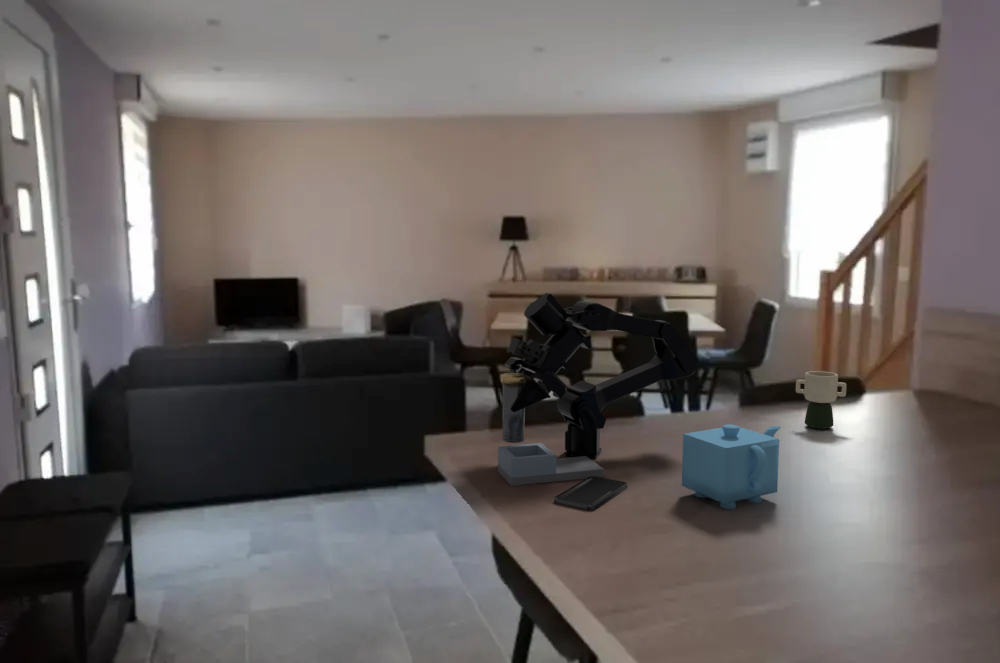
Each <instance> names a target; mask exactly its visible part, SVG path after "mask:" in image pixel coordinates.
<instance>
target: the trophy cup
mask: <svg viewBox="0 0 1000 663" xmlns="http://www.w3.org/2000/svg"><path fill="white" fill-rule="evenodd" d="M801 384H803V385H804V389H803V388H801ZM838 387H840V388H841V391H840V392H839V391H838ZM795 392H796V393H797V394H803V396H804V399H805V400H806V401H809V403H808V404H807V408H806V412H805V416H804V424H805V425H806V426H807V427H808V426H809V427H811V428H814V429H829V428H833V427H834V416H833V413H834V412H833V406H832V404H831V403H834V402H836V400H837V397H843V398H844V397H846V395H847V383H846V382H843V381H842V382H841V381H840V382H839V375H838V373H835V372H831V371H822V370H813V371H806V372H805V375H804V379H796V381H795Z"/></svg>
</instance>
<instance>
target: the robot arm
mask: <svg viewBox="0 0 1000 663" xmlns="http://www.w3.org/2000/svg"><path fill="white" fill-rule="evenodd" d="M524 310H525V311H524V312H523V315H524V317H525V318H526V319H527V320H528V321H529V322H530V323H531V324H532V325H533V326H534V327H535V329H536V330H537V331H539V333H540V334H541V335H543V336H548V335H549V336H550V337H549V338H548V339H547V341H546V342H545V343H541V342H539V341H537V340H534V339H531V338H530V339H528V340H527V341H524V340H522V339H518V338H516V337H512V339H511V341H510V344H509V346H508V349H507V350H506V353H509V354H511V355H514V357H513V356H511V357H509V358H508V360H506V362H505V363H504V366H505V367H506V368H508V369H509V373H522V374H526V382H525V387H524V389H523V390H522V391H521V393H520V394H519V396H518V397H517V399H516V400H515V401H514V403H513V405H512V406H511V408H510V410H511V411H512V412H516V411H518V410H521V409H523V408H525V409H526V408H528V407H529V406H531V405H534V404H536V403H538V402H541V401H544V400H546V399H550V398H551V395H550V393H551V392H552V396H553V397H555V398H556V399H557V401H556V406H557V410H558V412H559V413H560V414H561V415H562V416H563V419H564V422H566V423H568V425H567V430H566V431H564V450H565V453H564V454H565V457H581V456H587V457H588V458H589V459H597V457H598V456H599V454H601V452H602V450H603V449H602V447H601V444H600V443H601V429H604V428H605V424H606V422H607V418H606V417H605V415H603V413H601V411H603V409H604V408H605V406H607V405H608V404H610V403H612V402H614V401H618V400H619V399H621V398H624V397H626V396H628V395H631V394H634V393H635V392H638V391H640V390H642V389H644V388H647V387H649V386H652V385H654V384H656V383H658V382H660V381H668V380H669V381H671V380H678V379H683V378H688V377H691V376H692V375H694V374H695V373H696V368H697V367H698V358H697V355H696V353H695V352H693V351H692V349H691V348H690V346H689V344H688V343H687V342H686V341H685V340H684V338H682V337H681V336H680V334H679V333H678V331H677V329H676V328H675V326H674V325H673V324H672V323H671V322H669V321H665V320H660V319H655V320H654V319H651V318H650V319H649V318H645V317H639V316H635V315H630V314H625V313H620V312H618V311H616V310H613V309H612V308H610V307H608V306H605V305H603V304H600V303H597V302H593V301H592V302H591V301H586V300H578V301H576V302H575V303H574V304H573V305H572V306H570V307H566V308H564V307H562V306H561V305H560V303H558V301H557V300H556V298H555V296H554V295H553V294H552V293H547V292H546V293H544V294H543V296H541V297H539V298H537V299H535V300H534V301H533V302H531V303H529V305H528V306H527V307H526V309H524ZM568 322H571V324H572V325H571V324H569V323H568ZM580 329H582V330H584V331H585V330H586V331H591V332H610V331H619V332H620V331H621V332H625V333H631V334H637V335H641V336H647V337H651V339H652V344H653V351H654V352H655V354H654V355H653V357H652V358H651V360H649V361H648V362H647V363H644V364H642V365H639V366H637V367H636V368H635V367H634V368H632V369H630V370H628V371H625V372H623V373H621V374H619V375H615V376H614V377H611V378H609V379H607V380H604V381H602V382H599V383H597V384H593V383H591V382H588V381H586V380H580V381H577V382H575V383H574V384H572V385H566V384H565V383H564V382H563V381H562V380H561V378H560V377H559V376H558V375H557V374H558V373H559V371H560V369H564V370H566V369H567V368H568V367H569V363H567V361H569V360H570V358H571V357H572V356H573V355H574V354H575V352H576V351H578V349H579V348H580V347H581V348H584V349H587V350H592V336H591V335H588V334H584V333H583V332H582V331H581V330H580ZM521 358H522V359H521ZM500 405H501V406H502V407H503V399H502V400H501V403H500Z"/></svg>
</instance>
